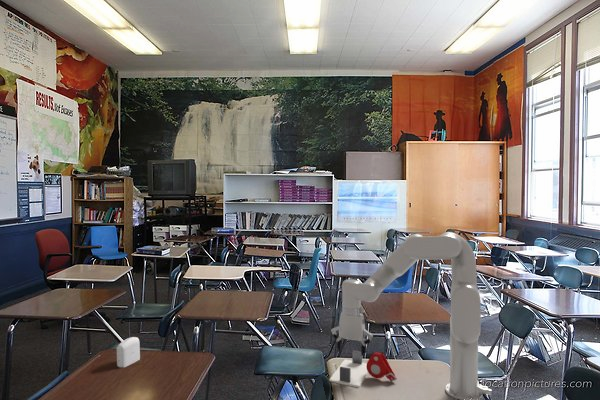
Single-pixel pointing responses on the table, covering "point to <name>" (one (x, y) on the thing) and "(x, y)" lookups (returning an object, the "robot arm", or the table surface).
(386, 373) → the red curved piece
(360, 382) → the board
